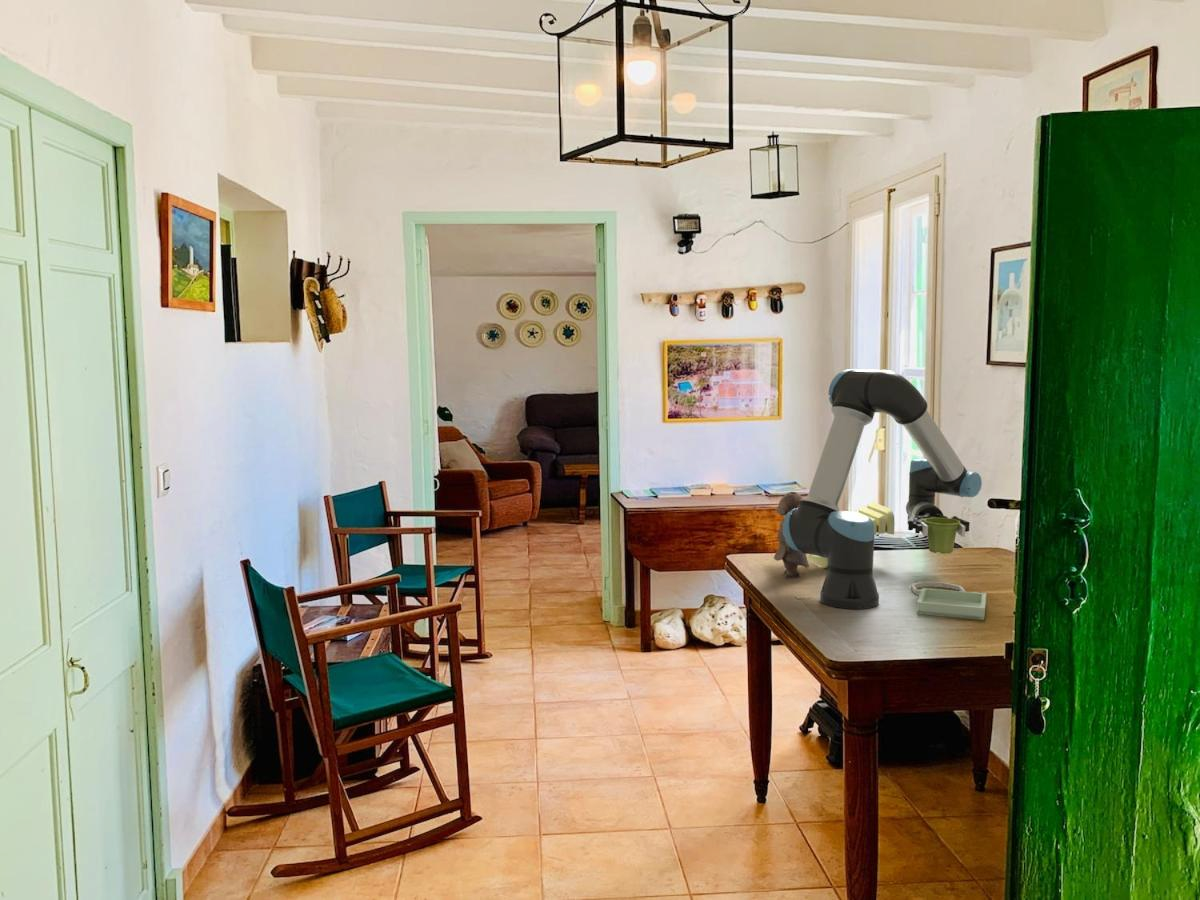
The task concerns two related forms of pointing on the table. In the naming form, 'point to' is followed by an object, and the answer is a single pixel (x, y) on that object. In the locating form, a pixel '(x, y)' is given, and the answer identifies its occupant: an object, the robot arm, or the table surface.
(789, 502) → the clay figurine
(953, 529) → the plant pot
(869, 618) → the table surface
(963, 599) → the tray
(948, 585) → the collar ring
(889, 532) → the slatted curved stool
